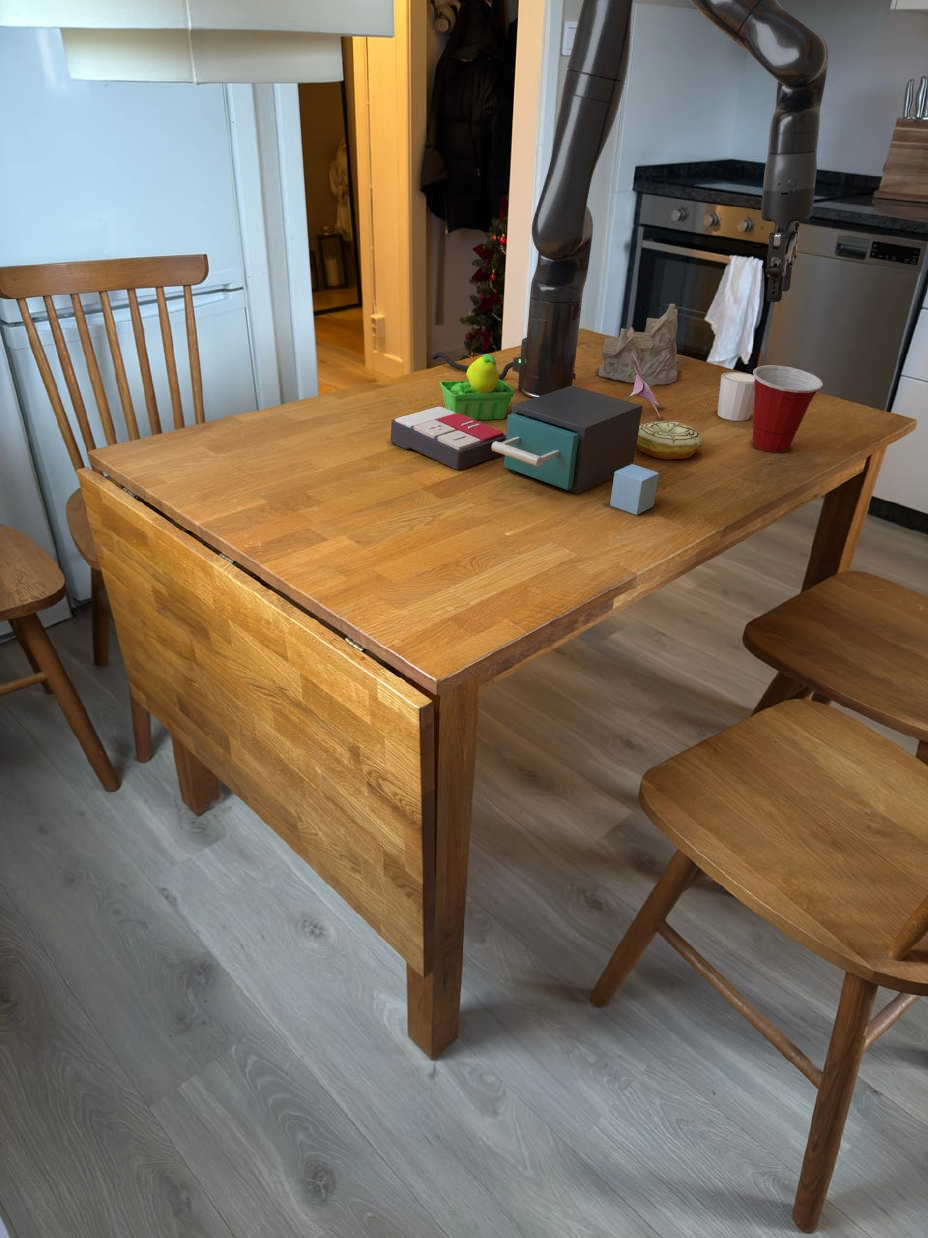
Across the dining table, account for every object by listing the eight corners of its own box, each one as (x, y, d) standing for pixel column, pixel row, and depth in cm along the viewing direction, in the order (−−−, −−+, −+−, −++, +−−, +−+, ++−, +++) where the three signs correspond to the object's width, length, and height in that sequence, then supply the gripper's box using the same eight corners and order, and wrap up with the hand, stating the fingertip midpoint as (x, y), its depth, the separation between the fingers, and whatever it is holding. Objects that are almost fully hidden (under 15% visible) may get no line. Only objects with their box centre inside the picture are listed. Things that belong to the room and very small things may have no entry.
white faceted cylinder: (757, 422, 158) (765, 383, 154) (718, 420, 158) (726, 381, 154) (747, 410, 164) (755, 372, 160) (710, 408, 164) (717, 370, 160)
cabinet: (577, 494, 127) (585, 427, 122) (507, 468, 134) (512, 404, 129) (633, 467, 137) (642, 405, 132) (565, 445, 144) (572, 385, 139)
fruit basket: (498, 406, 159) (503, 342, 153) (516, 423, 152) (522, 356, 146) (437, 410, 156) (439, 344, 150) (452, 427, 148) (455, 359, 143)
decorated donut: (713, 453, 144) (717, 430, 142) (672, 467, 138) (676, 444, 136) (661, 434, 150) (665, 412, 148) (620, 447, 144) (623, 424, 142)
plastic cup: (766, 462, 142) (784, 387, 135) (724, 439, 150) (739, 367, 144) (819, 455, 145) (839, 382, 139) (775, 432, 154) (792, 363, 148)
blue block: (609, 505, 124) (614, 471, 122) (626, 496, 127) (631, 463, 124) (636, 515, 122) (642, 481, 119) (653, 506, 125) (659, 472, 122)
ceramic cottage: (684, 367, 186) (692, 292, 178) (670, 391, 173) (678, 311, 165) (610, 361, 191) (615, 287, 183) (591, 384, 178) (595, 306, 170)
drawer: (543, 500, 122) (549, 445, 118) (479, 476, 129) (482, 423, 124) (620, 465, 135) (627, 414, 131) (558, 444, 141) (563, 395, 137)
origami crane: (641, 434, 153) (676, 386, 149) (588, 394, 156) (621, 346, 152) (657, 435, 164) (690, 391, 160) (607, 398, 166) (638, 353, 163)
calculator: (459, 447, 130) (390, 415, 138) (457, 474, 133) (389, 441, 141) (509, 431, 137) (440, 401, 145) (506, 457, 140) (438, 426, 148)
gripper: (771, 181, 144) (762, 287, 152) (755, 191, 133) (746, 304, 141) (820, 179, 141) (808, 287, 149) (808, 189, 130) (796, 305, 138)
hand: (778, 295), depth 145 cm, fingers open, 8 cm apart
